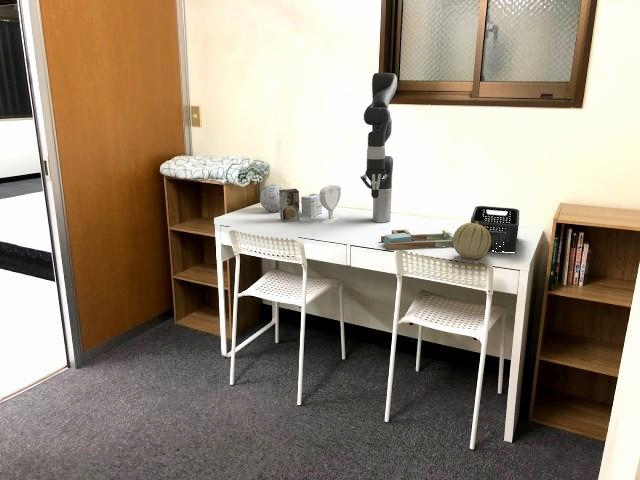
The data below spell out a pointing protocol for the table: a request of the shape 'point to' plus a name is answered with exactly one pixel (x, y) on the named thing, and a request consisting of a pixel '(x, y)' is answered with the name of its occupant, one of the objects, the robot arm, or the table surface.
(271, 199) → the puzzle ball
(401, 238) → the block
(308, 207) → the light bulb box
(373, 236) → the table surface
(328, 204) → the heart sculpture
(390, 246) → the maze
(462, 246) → the cantaloupe
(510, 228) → the storage bin
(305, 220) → the table surface
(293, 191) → the coffee box
